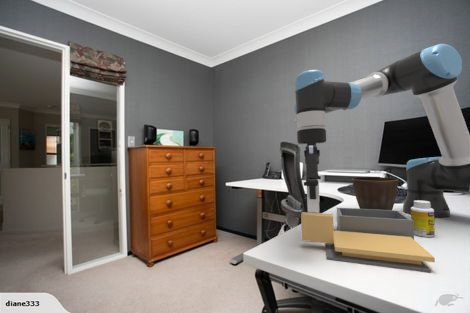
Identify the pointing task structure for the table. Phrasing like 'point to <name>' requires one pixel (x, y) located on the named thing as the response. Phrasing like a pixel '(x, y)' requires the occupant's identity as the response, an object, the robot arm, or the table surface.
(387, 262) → the grey rubber mat
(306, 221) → the amber lid
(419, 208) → the supplement bottle
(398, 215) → the charcoal tub
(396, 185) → the plant pot
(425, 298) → the table surface
